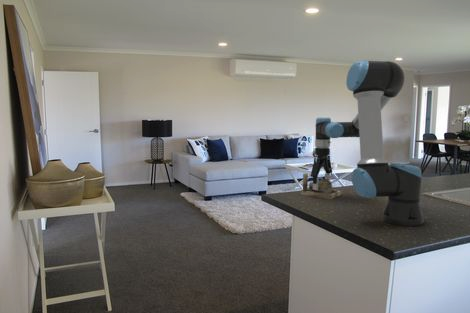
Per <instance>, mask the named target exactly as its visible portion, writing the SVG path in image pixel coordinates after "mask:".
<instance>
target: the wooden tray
mask: <svg viewBox="0 0 470 313" xmlns="http://www.w3.org/2000/svg"><path fill="white" fill-rule="evenodd" d="M308 176H309V174H308V173H302V190H300V195H302V196H307V197H308V196H309V197H312V198H313V197H314V198H319V199H326V200H332V199H335V198H337V197H339V196H342V195H343V194H342V193H343V192H342V190H337V189H333V191H332V192H331V194H324V193H318V192H311V191H309V182H308V181H309V178H308Z"/></svg>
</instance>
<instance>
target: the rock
mask: <svg viewBox="0 0 470 313" xmlns="http://www.w3.org/2000/svg"><path fill="white" fill-rule="evenodd" d="M308 188H309V191H311V192H318V193H324V194H331V192H332V191H333V190H334V188H333V185H332V181H331V180H330V181H329V180H328V179H325V178H321V179H318V190H313V181H310V182H308Z"/></svg>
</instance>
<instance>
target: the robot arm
mask: <svg viewBox="0 0 470 313" xmlns="http://www.w3.org/2000/svg"><path fill="white" fill-rule="evenodd" d="M404 83H405V73H404V71H403V69H402V67H401V66H400V65H399V64H398V63H396V62H395V61H387V60H385V61H380V60H379V61H378V60H377V61H376V60H358V61H355V62H353V64H351V66H350V68H349V69H348V72H347V75H346V88H347V89H348V91H351V92H352V96H353V98H355V99H356V100H357V114H356V115H355V117H354V118H353V119H352V121H335V122H334V121H332V120H331V118H330V117H317V118H316V119H315V137H314V138H315V140H314V146H315V148H314V155H315V156H317V157H314V158H313V163H312V168H311V172H310V178H312V182H313V190H318V180H319V177H318V176H319V174H320V171H321V169H322V167H323V170H324V172H325V173H324V179H328V180H329V181H330V182H331V174H333V167H332V164H331V148H330V147H331V143H332V142H331V139H338V138H359V148H360V149H359V151H360V160H359V161H358V162H357V163H356V168H354V169H353V171H352V173H351V183H352V187H353V189H354V191H355V192H356V194H357V195H358V196H359V197H362V198H372V199H375V198H385V197H387V202H386V205H385V207H384V209H383V212H382V220H383V221H384V222H387V223H389V224H392V225H396V226H403V227H417V226H421V225H423V224H424V214H423V211H422V207H421V203H420V201H421V188H422V186H421V184H422V180H423V179H422V169H421V168H420V167H419V166H416V165H412V164H406V163H399V162H390V165H389V161H388V160H386V159H385V155H384V140H383V139H384V138H383V137H384V136H383V124H382V110H383V108H385V106H386V105H387V104H388V103H389V101H390V100H391V99H393V98H395V97H397V95H398V94H399V93H400V92H401V90H402V89H403V86H404Z"/></svg>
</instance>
